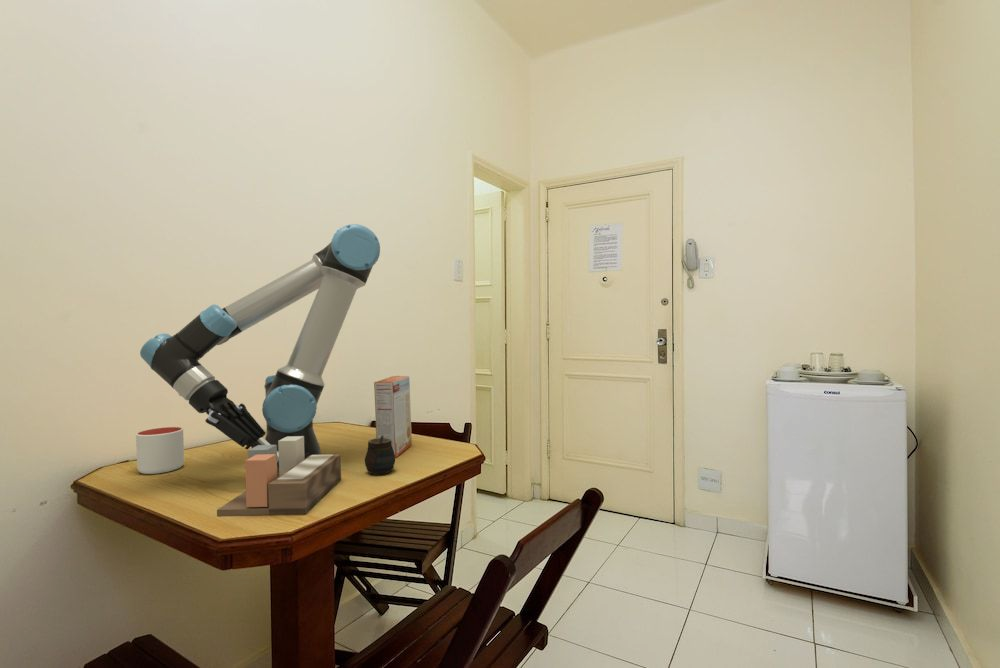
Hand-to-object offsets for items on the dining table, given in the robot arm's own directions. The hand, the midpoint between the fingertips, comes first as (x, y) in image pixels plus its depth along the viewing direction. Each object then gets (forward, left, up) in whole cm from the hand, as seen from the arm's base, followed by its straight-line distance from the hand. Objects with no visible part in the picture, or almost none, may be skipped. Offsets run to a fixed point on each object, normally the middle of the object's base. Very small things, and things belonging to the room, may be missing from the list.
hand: (277, 461), depth 114 cm
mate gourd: (-8, +22, -6) cm, 24 cm away
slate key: (+8, +1, -4) cm, 9 cm away
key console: (+8, +5, -5) cm, 11 cm away
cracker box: (-28, +21, -6) cm, 35 cm away
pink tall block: (+16, +4, -4) cm, 17 cm away
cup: (-14, -36, -6) cm, 39 cm away
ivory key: (0, +3, -4) cm, 5 cm away
